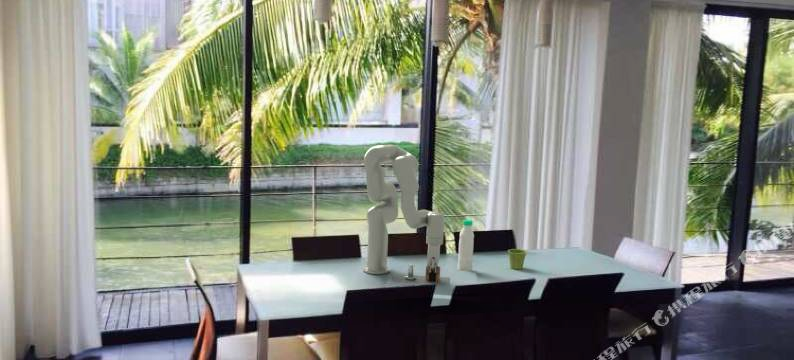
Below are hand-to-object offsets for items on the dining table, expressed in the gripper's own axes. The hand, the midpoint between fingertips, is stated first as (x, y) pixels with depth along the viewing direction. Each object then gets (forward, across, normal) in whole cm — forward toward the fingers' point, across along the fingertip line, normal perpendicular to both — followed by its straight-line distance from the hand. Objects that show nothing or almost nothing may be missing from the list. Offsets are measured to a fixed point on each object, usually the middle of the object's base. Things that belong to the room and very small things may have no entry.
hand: (432, 278), depth 301 cm
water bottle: (+2, -26, +15) cm, 30 cm away
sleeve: (+1, 0, 0) cm, 1 cm away
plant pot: (+2, -37, +41) cm, 55 cm away
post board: (+2, 0, -5) cm, 5 cm away
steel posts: (+1, 0, -6) cm, 6 cm away
